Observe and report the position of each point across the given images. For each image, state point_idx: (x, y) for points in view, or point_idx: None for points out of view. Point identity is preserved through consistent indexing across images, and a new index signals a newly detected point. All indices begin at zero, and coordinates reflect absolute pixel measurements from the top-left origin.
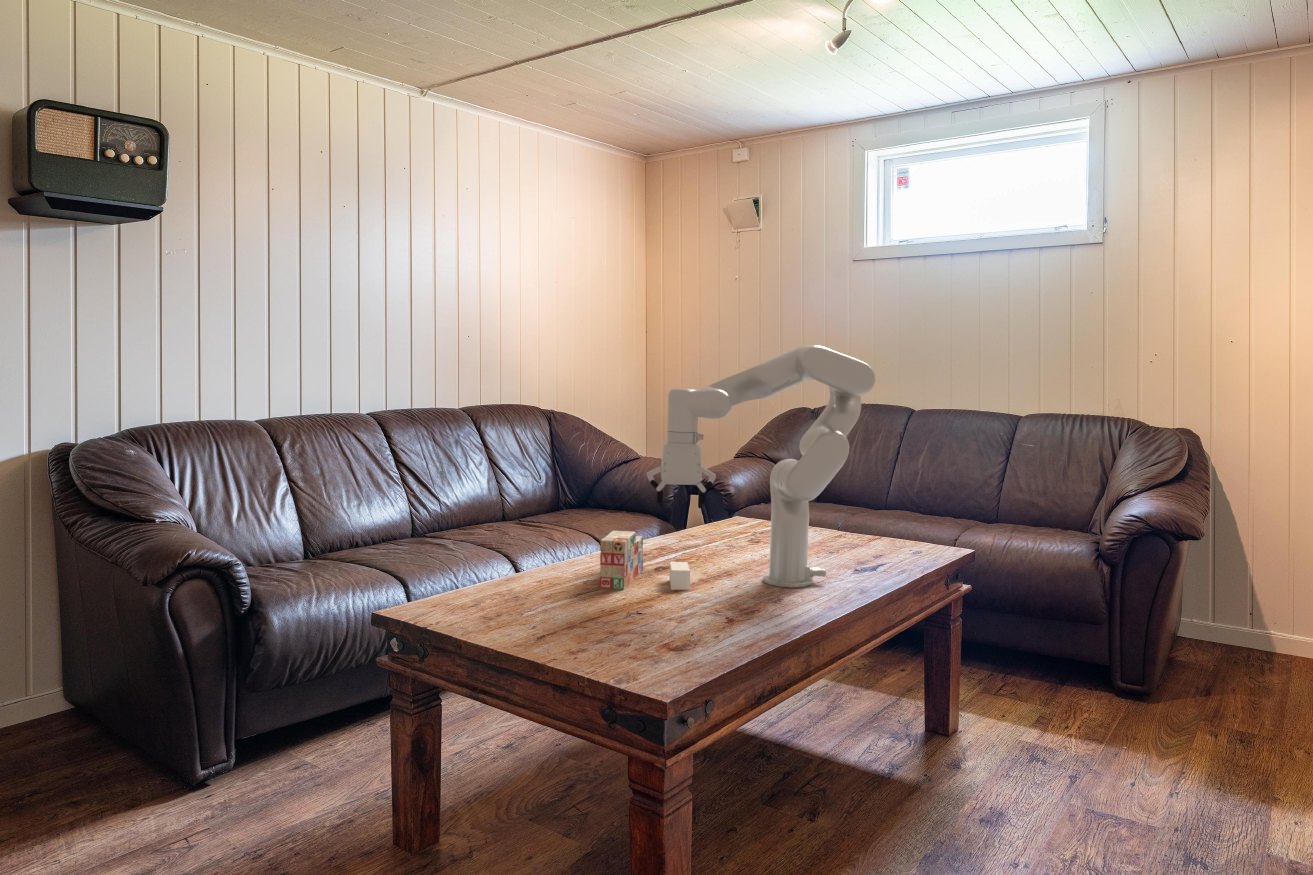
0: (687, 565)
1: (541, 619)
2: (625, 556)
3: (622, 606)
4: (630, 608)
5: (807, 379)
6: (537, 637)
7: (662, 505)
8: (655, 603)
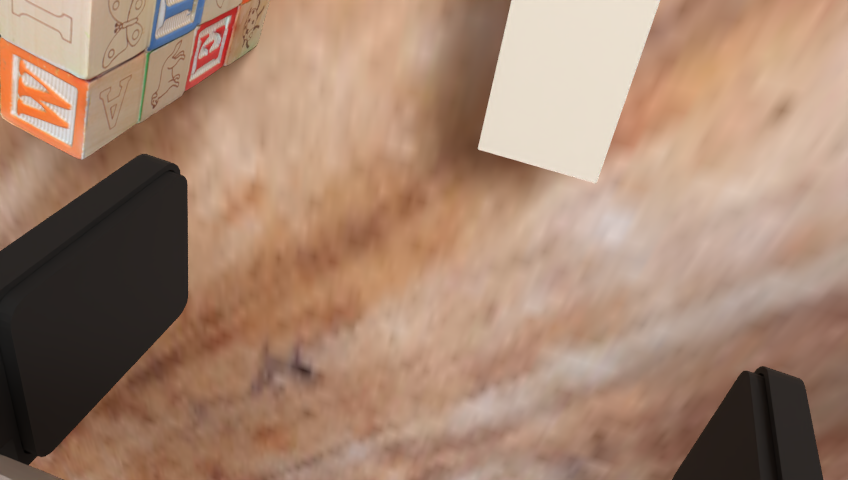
0: (637, 42)
1: None
2: (154, 99)
3: (247, 285)
4: (275, 314)
5: None
6: None
7: (173, 318)
8: (376, 290)
